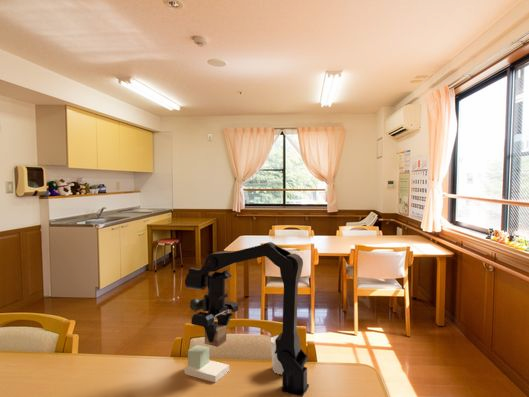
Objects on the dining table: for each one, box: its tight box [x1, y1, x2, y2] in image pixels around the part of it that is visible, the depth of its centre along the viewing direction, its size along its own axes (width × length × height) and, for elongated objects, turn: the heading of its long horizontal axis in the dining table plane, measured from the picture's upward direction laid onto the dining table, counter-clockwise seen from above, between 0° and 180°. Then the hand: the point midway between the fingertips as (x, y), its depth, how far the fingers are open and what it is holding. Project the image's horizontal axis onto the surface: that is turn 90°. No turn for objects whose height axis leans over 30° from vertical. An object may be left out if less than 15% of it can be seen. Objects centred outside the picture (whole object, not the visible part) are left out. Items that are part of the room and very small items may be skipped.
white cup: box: [270, 335, 284, 376], centre depth 109 cm, size 8×8×10 cm
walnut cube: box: [204, 324, 227, 348], centre depth 107 cm, size 5×5×5 cm
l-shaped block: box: [184, 344, 230, 384], centre depth 107 cm, size 12×8×7 cm, turn 64°
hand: (215, 339), depth 107 cm, fingers closed on walnut cube, 5 cm apart
